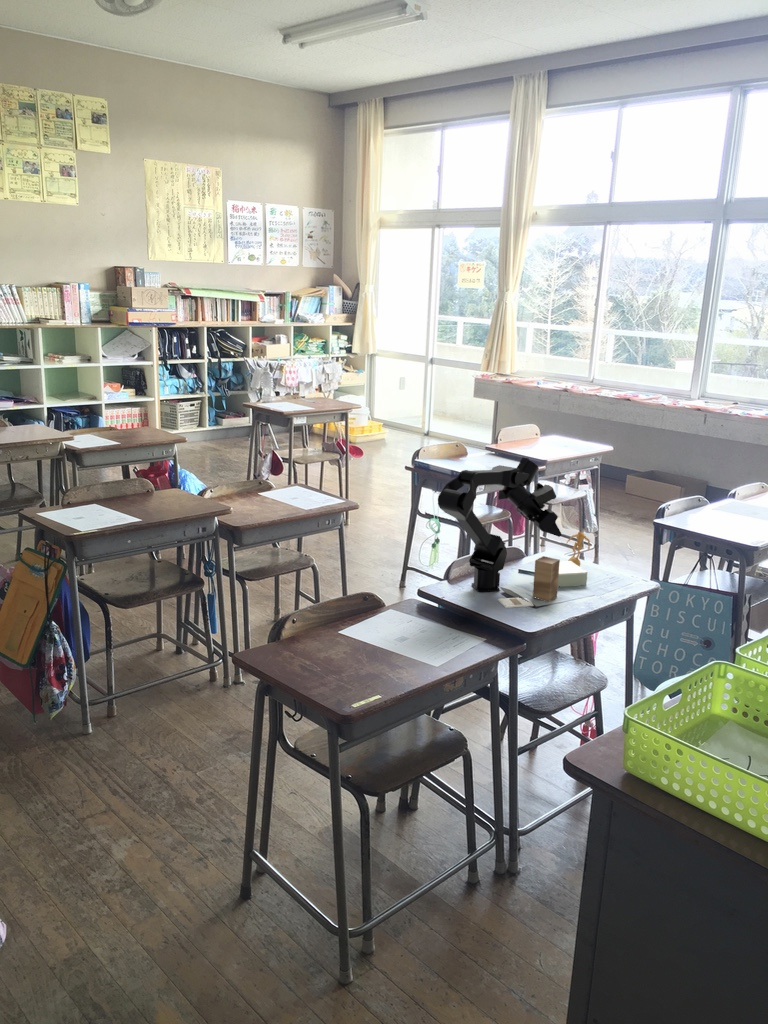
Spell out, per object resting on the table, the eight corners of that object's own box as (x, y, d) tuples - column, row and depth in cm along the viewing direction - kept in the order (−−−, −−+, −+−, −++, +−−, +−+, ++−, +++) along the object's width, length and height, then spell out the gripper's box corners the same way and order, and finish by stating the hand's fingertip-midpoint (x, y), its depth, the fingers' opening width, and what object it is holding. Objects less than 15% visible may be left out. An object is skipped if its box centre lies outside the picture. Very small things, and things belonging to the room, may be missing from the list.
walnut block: (549, 601, 225) (551, 563, 222) (532, 597, 228) (535, 560, 225) (556, 596, 229) (559, 559, 226) (540, 593, 232) (543, 556, 229)
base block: (551, 587, 237) (552, 574, 236) (536, 575, 247) (537, 562, 246) (586, 585, 239) (587, 572, 238) (569, 573, 250) (570, 560, 249)
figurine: (558, 567, 255) (561, 530, 252) (569, 564, 259) (572, 527, 256) (581, 574, 249) (584, 536, 246) (592, 570, 253) (595, 533, 250)
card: (505, 607, 220) (505, 606, 220) (497, 600, 225) (498, 598, 225) (533, 606, 222) (533, 604, 221) (524, 598, 227) (524, 596, 227)
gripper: (552, 485, 229) (586, 520, 234) (528, 470, 247) (560, 502, 252) (525, 514, 230) (559, 548, 235) (502, 497, 247) (535, 529, 253)
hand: (554, 530), depth 244 cm, fingers open, 9 cm apart
